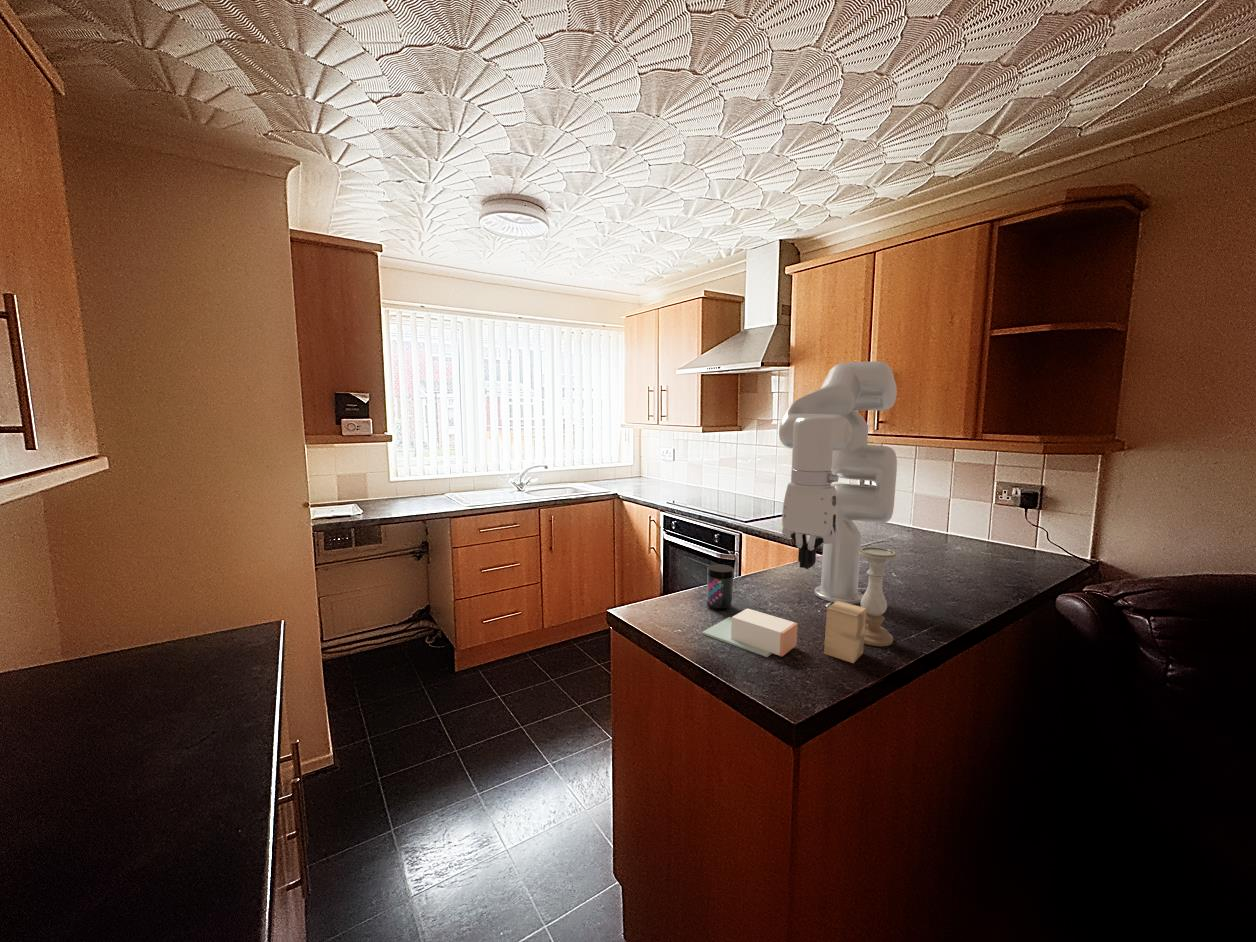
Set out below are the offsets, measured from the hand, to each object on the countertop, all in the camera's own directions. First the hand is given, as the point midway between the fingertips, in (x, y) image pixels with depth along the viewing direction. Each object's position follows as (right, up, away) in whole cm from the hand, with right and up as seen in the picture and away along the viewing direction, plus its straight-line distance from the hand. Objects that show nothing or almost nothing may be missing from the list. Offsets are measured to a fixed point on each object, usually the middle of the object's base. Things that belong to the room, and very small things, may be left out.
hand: (806, 566), depth 103 cm
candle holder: (+19, -19, +11) cm, 28 cm away
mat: (-10, -18, +11) cm, 23 cm away
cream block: (-3, -16, +3) cm, 16 cm away
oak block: (+9, -19, +3) cm, 21 cm away
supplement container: (-13, -16, +28) cm, 35 cm away
